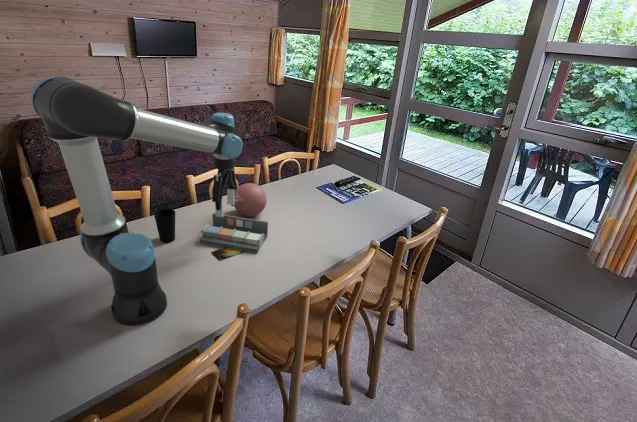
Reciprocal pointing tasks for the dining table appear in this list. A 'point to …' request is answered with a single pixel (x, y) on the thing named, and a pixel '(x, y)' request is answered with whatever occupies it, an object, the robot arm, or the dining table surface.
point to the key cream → (253, 238)
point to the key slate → (211, 231)
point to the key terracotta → (225, 233)
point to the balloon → (249, 199)
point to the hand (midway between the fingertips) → (225, 210)
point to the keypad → (238, 225)
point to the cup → (165, 224)
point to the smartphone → (226, 253)
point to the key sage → (239, 236)
